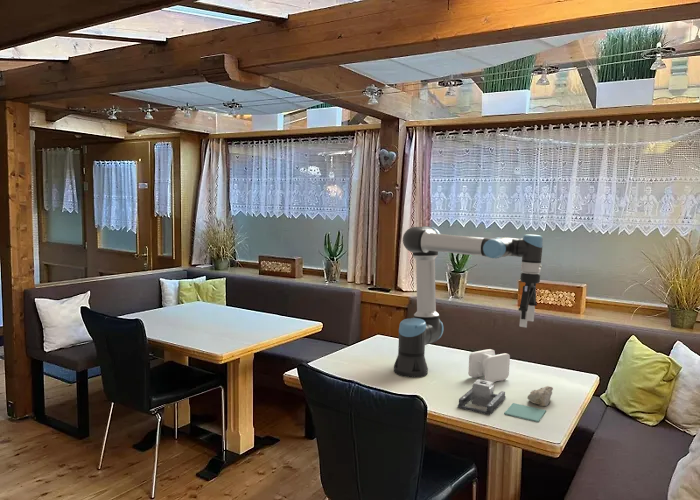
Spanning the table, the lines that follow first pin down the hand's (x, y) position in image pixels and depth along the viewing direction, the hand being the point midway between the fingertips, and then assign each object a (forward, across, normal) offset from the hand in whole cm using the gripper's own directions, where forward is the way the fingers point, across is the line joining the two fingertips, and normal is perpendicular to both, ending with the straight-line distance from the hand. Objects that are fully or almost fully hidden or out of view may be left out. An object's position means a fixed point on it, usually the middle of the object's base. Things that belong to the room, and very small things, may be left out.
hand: (526, 323), depth 216 cm
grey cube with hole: (+27, -26, +9) cm, 39 cm away
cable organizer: (+28, +4, +15) cm, 32 cm away
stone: (+27, -12, -9) cm, 31 cm away
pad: (+27, -27, -7) cm, 39 cm away
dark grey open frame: (+27, -26, +9) cm, 39 cm away
